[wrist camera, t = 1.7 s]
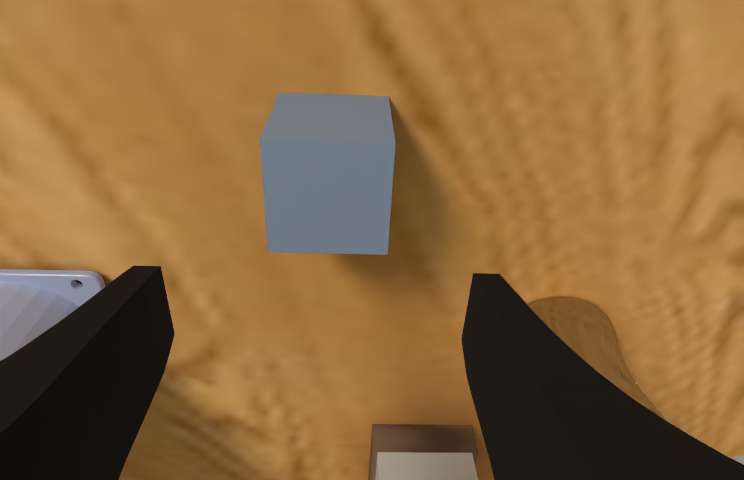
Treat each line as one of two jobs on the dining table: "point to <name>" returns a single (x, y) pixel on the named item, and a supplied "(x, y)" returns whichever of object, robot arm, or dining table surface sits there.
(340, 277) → the dining table surface
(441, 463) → the mid slab
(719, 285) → the dining table surface
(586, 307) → the beer glass
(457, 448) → the base slab
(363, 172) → the blue block
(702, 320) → the dining table surface
